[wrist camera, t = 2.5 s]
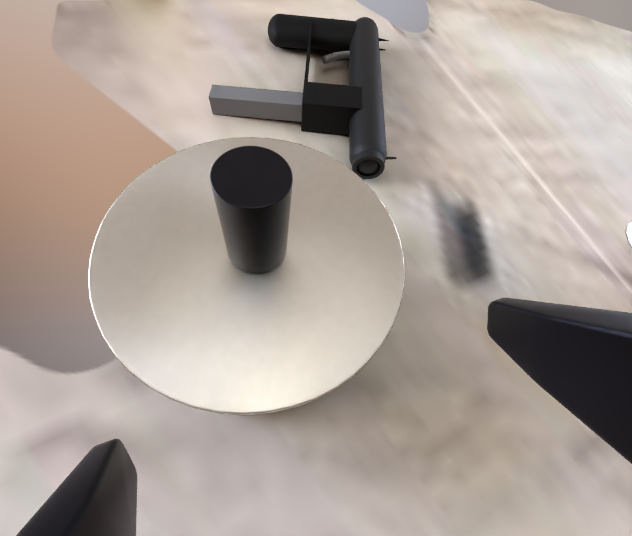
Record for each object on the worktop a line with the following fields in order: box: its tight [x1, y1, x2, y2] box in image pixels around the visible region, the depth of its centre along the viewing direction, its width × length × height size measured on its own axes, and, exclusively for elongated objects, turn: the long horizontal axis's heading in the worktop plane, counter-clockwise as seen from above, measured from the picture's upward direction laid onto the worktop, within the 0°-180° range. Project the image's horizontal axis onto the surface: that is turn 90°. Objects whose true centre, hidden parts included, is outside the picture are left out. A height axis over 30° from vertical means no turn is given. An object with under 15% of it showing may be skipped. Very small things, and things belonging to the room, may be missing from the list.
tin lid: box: [88, 137, 405, 415], centre depth 14 cm, size 15×15×6 cm
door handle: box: [209, 14, 396, 179], centre depth 30 cm, size 3×20×16 cm
